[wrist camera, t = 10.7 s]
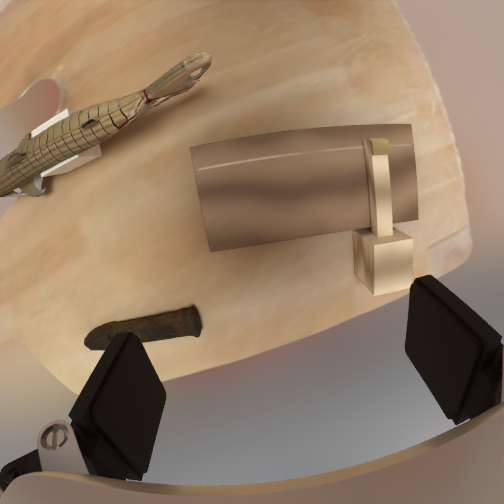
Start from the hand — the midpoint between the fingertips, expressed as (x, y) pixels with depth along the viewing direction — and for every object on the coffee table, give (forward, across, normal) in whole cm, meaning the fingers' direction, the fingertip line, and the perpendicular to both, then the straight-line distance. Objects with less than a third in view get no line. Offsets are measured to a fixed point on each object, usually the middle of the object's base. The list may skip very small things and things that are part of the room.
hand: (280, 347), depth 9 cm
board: (+27, -7, -1) cm, 28 cm away
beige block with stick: (+27, -14, +3) cm, 30 cm away
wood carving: (+27, +19, -13) cm, 35 cm away
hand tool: (+27, +20, +14) cm, 36 cm away
